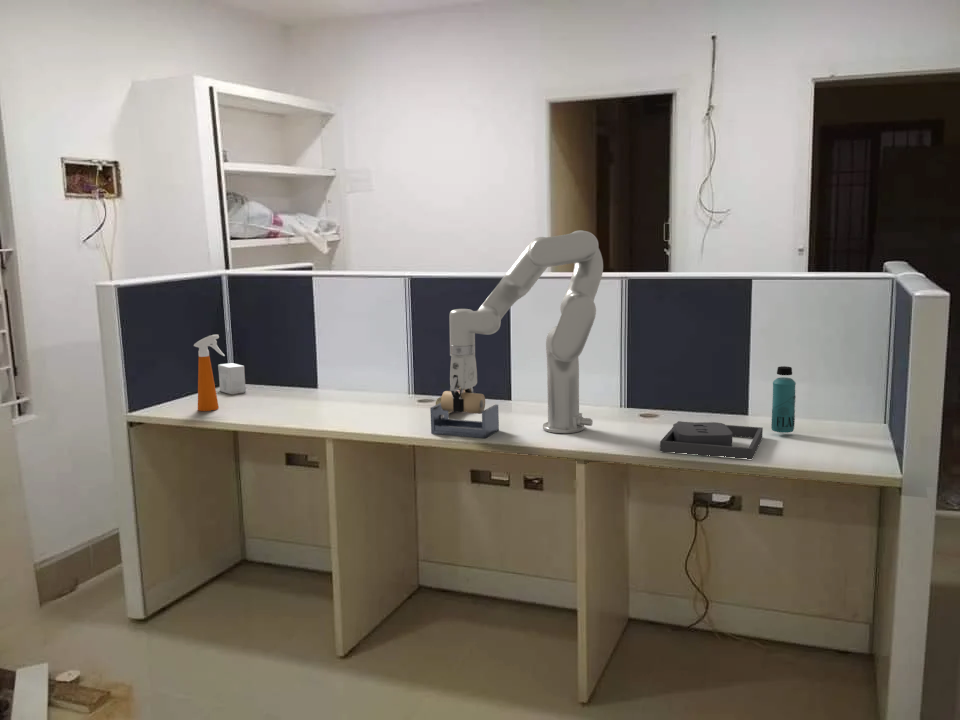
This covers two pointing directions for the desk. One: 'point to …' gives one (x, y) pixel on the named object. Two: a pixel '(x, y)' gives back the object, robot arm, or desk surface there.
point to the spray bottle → (206, 374)
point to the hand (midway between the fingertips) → (463, 408)
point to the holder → (464, 423)
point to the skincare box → (231, 378)
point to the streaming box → (702, 433)
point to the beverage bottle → (783, 402)
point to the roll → (471, 402)
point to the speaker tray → (716, 450)
